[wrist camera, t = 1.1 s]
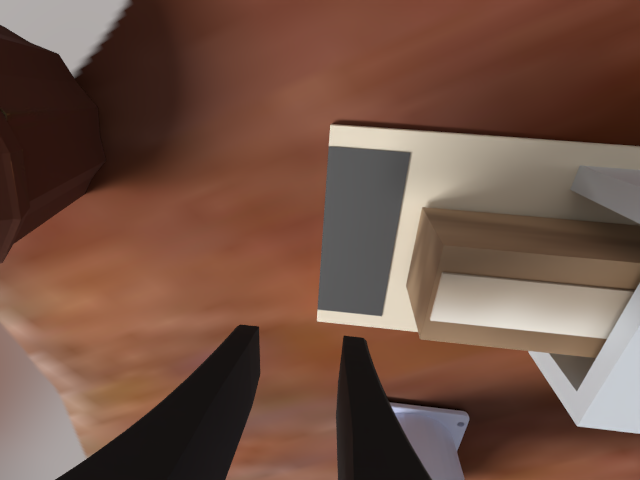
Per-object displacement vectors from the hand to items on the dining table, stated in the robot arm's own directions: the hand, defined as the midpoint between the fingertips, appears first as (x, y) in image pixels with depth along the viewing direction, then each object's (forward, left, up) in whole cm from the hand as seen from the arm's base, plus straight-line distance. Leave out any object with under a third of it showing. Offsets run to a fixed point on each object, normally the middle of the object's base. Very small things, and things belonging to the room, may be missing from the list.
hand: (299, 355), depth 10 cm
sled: (0, -14, -9) cm, 17 cm away
